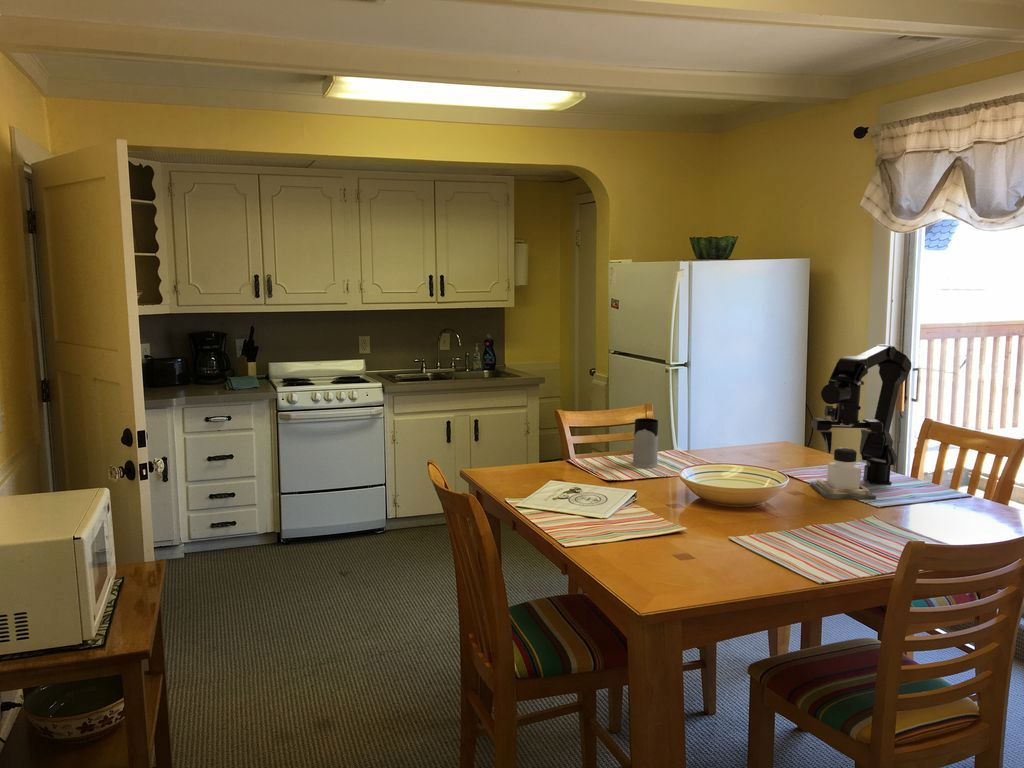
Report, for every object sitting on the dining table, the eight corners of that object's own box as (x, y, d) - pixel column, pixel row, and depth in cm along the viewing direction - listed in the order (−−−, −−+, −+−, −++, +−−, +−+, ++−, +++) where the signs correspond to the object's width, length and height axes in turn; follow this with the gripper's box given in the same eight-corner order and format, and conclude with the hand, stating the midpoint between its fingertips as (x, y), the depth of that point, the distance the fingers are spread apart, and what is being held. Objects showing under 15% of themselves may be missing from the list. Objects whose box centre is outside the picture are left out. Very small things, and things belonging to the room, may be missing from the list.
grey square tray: (857, 486, 248) (858, 479, 248) (875, 499, 234) (876, 492, 234) (810, 485, 249) (811, 478, 249) (825, 498, 235) (826, 490, 235)
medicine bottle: (859, 492, 238) (862, 451, 236) (835, 492, 238) (837, 451, 236) (850, 485, 245) (853, 446, 243) (826, 485, 245) (828, 446, 243)
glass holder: (629, 466, 268) (631, 421, 266) (636, 457, 282) (637, 414, 280) (656, 469, 266) (658, 423, 264) (661, 459, 279) (663, 415, 277)
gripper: (871, 397, 245) (867, 448, 247) (807, 395, 246) (804, 446, 248) (886, 403, 234) (881, 457, 236) (819, 402, 235) (815, 455, 237)
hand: (844, 453), depth 240 cm, fingers open, 9 cm apart
